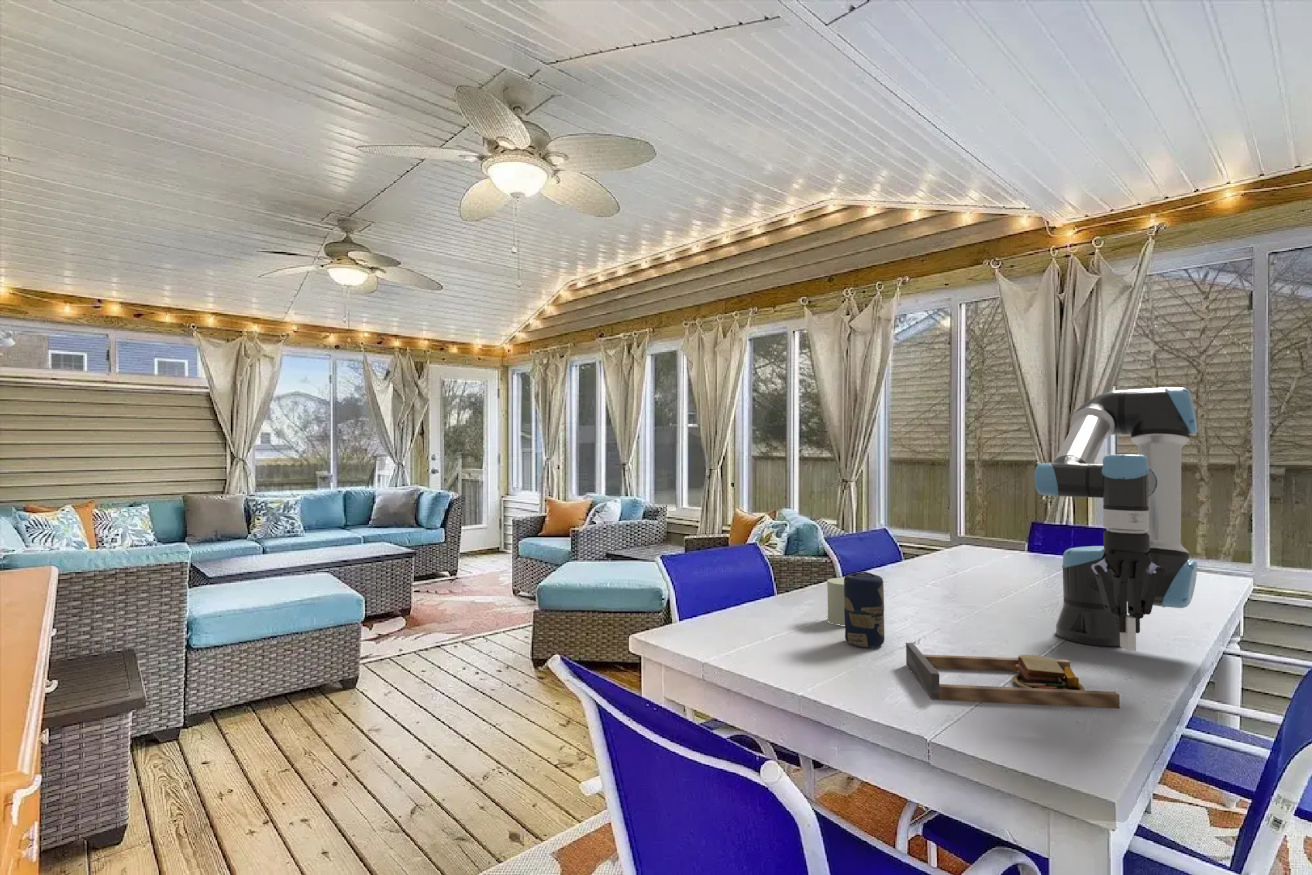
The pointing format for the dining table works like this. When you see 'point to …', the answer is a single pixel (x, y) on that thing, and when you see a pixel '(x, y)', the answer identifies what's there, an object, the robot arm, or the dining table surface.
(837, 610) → the can
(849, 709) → the dining table surface
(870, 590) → the canister
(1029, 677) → the toy sandwich meal
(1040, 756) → the dining table surface
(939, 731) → the dining table surface
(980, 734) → the dining table surface
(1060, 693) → the open-ended frame
